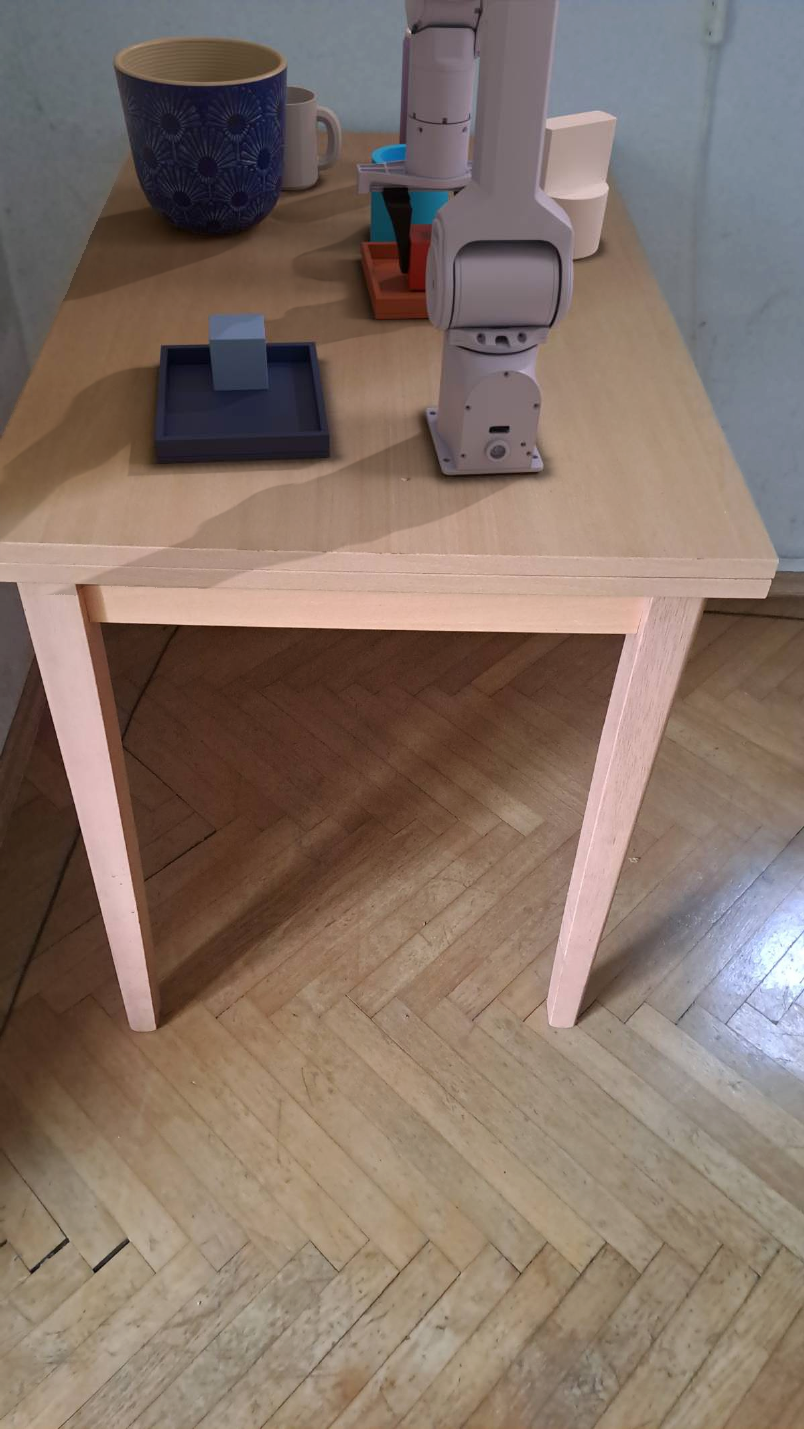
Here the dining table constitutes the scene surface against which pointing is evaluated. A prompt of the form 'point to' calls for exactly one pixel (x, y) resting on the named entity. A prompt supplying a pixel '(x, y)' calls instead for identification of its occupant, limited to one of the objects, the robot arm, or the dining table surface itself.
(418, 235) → the red block
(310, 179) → the cup
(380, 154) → the mug
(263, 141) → the planter
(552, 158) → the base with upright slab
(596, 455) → the dining table surface
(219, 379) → the blue block
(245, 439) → the blue tray
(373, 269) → the tray
